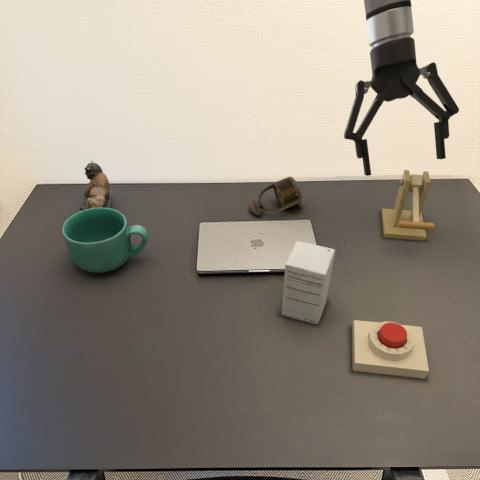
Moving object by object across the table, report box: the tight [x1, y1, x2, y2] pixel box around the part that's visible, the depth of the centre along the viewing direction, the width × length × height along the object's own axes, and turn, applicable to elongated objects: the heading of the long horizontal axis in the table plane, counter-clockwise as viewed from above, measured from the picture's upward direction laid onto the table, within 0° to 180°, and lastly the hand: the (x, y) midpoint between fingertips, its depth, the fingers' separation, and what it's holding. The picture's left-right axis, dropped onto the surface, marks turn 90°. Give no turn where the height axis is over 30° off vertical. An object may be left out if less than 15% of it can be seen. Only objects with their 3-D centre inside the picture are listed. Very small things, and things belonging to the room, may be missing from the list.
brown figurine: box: [78, 160, 113, 212], centre depth 110 cm, size 12×7×10 cm, turn 5°
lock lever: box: [398, 173, 436, 231], centre depth 98 cm, size 13×7×2 cm, turn 171°
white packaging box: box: [281, 240, 336, 325], centre depth 86 cm, size 7×7×13 cm
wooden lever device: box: [380, 169, 432, 242], centre depth 104 cm, size 10×9×13 cm
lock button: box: [378, 322, 407, 348], centre depth 79 cm, size 4×4×2 cm
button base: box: [351, 319, 430, 380], centre depth 81 cm, size 12×10×4 cm
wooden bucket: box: [248, 175, 303, 216], centre depth 111 cm, size 7×13×10 cm
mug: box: [61, 207, 149, 274], centre depth 97 cm, size 17×13×10 cm
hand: (404, 167), depth 89 cm, fingers open, 13 cm apart
